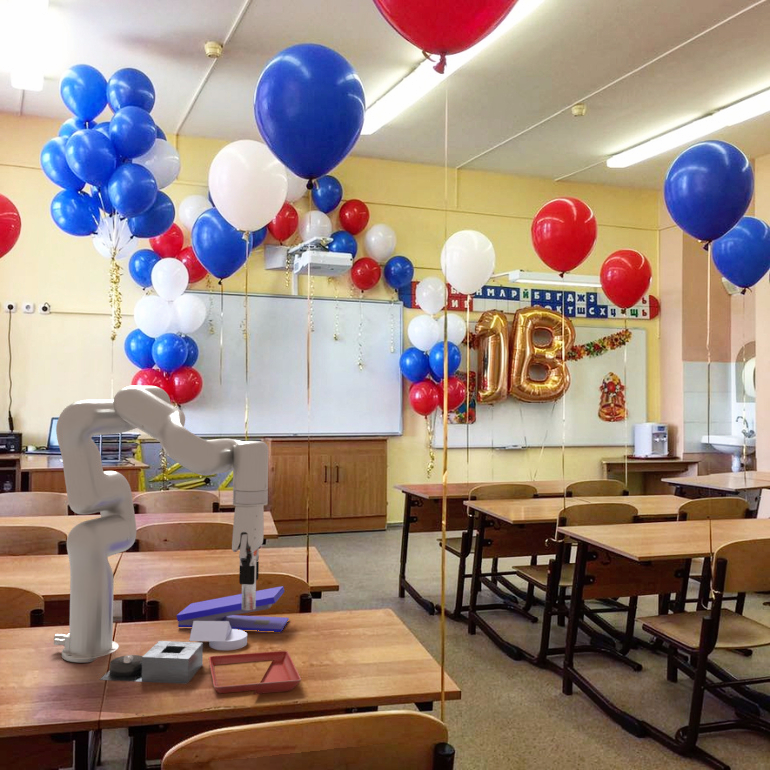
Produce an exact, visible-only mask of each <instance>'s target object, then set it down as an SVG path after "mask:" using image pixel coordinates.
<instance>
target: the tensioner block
mask: <svg viewBox="0 0 770 770" xmlns="http://www.w3.org/2000/svg"><path fill="white" fill-rule="evenodd" d="M203 649H204V643H203V642H201V641H171V640H158V641H157V642H156V643H155V644H154V645H152V647H150V649H149V650H148V651H147V652H146V653H144V654H143V655H139V654H128V655H127V654H126V655H122V656H118V657H115V658H113V659H112V660H110V662H109V670H108V671H107V672H106V673H104V675H103V676H101V678H99V679H98V680H99V681H118V682H140V683H141V682H142V683H160V684H161V683H163V684H181V685H182V684H183V685H187V684H188V683H189V682H190V681H191V680H192V678H193V677H194V676H195V675H196V674H197V673H198V671H199V670H200V669H201V668H202V666H203V665H204V663H203V658H204V657H203V653H204V652H203V651H204V650H203Z"/></svg>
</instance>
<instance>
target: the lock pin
mask: <svg viewBox="0 0 770 770" xmlns="http://www.w3.org/2000/svg"><path fill="white" fill-rule="evenodd" d="M247 551H251V550H250V549H247ZM247 555H249V557H250V554H247ZM256 555H257V550H256V551H254V560H253V566H255V582H254V584H253V585H248V584H241V594H242V610H254V609H255V608H256V591H257V580H256Z"/></svg>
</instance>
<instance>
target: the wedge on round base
mask: <svg viewBox="0 0 770 770" xmlns="http://www.w3.org/2000/svg"><path fill="white" fill-rule="evenodd" d="M188 642H208V643H209V644H208V645H209V647H210V648H211V649H214V650H217V651H234V650H235V651H236V650H239V649H242V648H244V647H246V646H247V645H248V633H247V632H245V631H243V630H238V629H232V628H231V626H230V623H229V621H194V622H193V626H192V629H190V636H189V641H188Z"/></svg>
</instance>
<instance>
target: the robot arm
mask: <svg viewBox="0 0 770 770" xmlns="http://www.w3.org/2000/svg"><path fill="white" fill-rule="evenodd" d="M185 423H186V415H185V413H184V412H183V411H182V409H179V408H178V407H176V406H174V405H172V403H171V399H170V395H169V394H168V393H167V392H166V391H165V390H164V389H163V388H161V387H158V386H155V385H129V386H126V387H123V388H121V389H119V390H118V392H117V393H115V395H114V396H113V399H98V398H97V399H82V400H78V401H75V402H73V403H70V404H69V405H67V406H66V407H64V409H63V410H62V411H61V412H60V414H59V416H58V419H57V423H56V426H55V427H56V428H55V432H56V439H57V443H58V447H59V451H60V454H61V459H62V466H63V475H64V482H65V487H66V488H65V489H66V497H67V502H68V505H69V507H70V510H71V511H73V512H74V513H75V514H77V515H91V514H96V513H100V517H95V518H91V519H88V520H87V519H86V520H84V521H82V522H79V523H78V524H76V525H75V526H73V528H71V530H70V531H69V533H68V536H67V539H66V550H67V556H68V561H69V569H70V570H69V573H70V576H69V577H70V581H69V582H70V585H69V586H70V593H69V630H68V631H69V633H67V634H64V633H55V635H54V636H53V645H55V646H63V647H64V648H63V649H62V651H61V657H62V658H61V659H64V660H65V661H67V662H71V663H79V664H80V663H81V664H82V663H93V662H94V661H95V660H96V659H98V658H99V657H104V656H107V655H111V654H112V653H114V652H116V651H117V650H118V649H119V648H120V645H119V644H118V642H116V641H113V635H114V634H113V630H114V629H113V627H114V626H113V625H114V624H113V623H114V587H115V586H114V580H115V579H114V574H113V573H114V571H113V568H112V566H111V565H110V562H109V559H108V558H109V557H111V556H114V555H117V554H120V553H123V552H126V551H127V550H129V549H130V548H131V547H132V546H133V545H134V543H135V542H136V538H137V523H136V515H135V508H134V501H133V494H132V488H131V486H130V483H129V481H128V480H127V478H126V477H125V475H123V474H122V473H121V472H118V471H114V470H104V469H103V468H104V467H103V463H102V455H101V453H100V449H99V448H98V446H97V444H96V443H95V441H94V440H93V439H92V438H93V437H95V436H102V435H104V436H105V435H116V434H118V435H119V434H122V433H126V432H127V433H128V432H130V431H133V430H136V429H138V430H139V431H142V432H143V433H145V434H146V435H148V436H150V437H151V438H153V439H155V440H156V441H158V442H159V443H160V445H161V447H162V449H163V451H164V452H165V454H167V456H168V457H169V458H170V459H172V461H174V462H175V463H177V464H179V465H180V466H181V467H184V468H185V469H187V470H189V471H190V472H192V473H194V474H197V475H201V476H212V475H216V474H223V473H229V472H232V473H233V474H232V476H233V477H232V506H235V508H234V515H233V524H232V526H233V528H232V541H231V550H232V552H234V553H237V552H238V551H239V554H238V555H239V556H238V557H239V574H238V575H239V576H238V577H239V580H238V581H239V584H240V585H242V584H248V585H253V584H254V582H255V566H253V560H254V551H256V550H257V555H256V581H257V580H258V579H259V571H260V570H259V568H260V567H259V565H260V562H259V560H260V555H259V554H260V553H259V550H260V547H261V546H262V545H263V543H264V534H265V533H264V530H265V522H264V521H265V516H264V513H265V512H264V511H265V510H264V506H268V503H269V502H268V500H269V498H268V497H269V495H268V494H269V446H268V444H267V443H266V442H264V441H259V440H240V439H239V440H238V439H233V438H218V439H217V438H214V439H204V438H202V437H200V436H198V435H196V434H194V433H193V432H191V430H188V429H187V428H185V425H186V424H185ZM247 549H250V550H251V551H247ZM247 554H250V557H249V555H247Z"/></svg>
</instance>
